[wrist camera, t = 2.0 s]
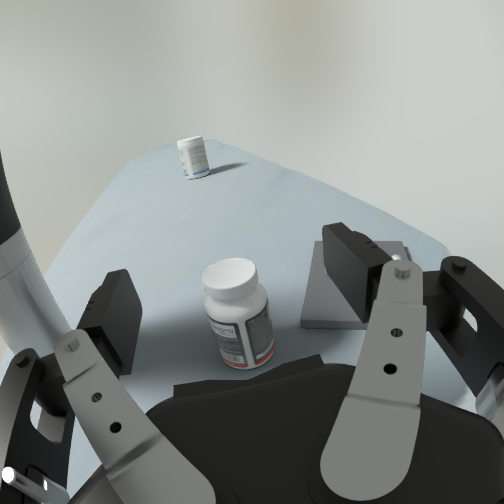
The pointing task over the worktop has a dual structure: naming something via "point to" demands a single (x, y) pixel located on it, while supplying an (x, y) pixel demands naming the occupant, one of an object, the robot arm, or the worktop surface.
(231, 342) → the pill bottle
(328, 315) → the grey pegged board
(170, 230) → the worktop surface
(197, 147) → the supplement tub
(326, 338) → the worktop surface
